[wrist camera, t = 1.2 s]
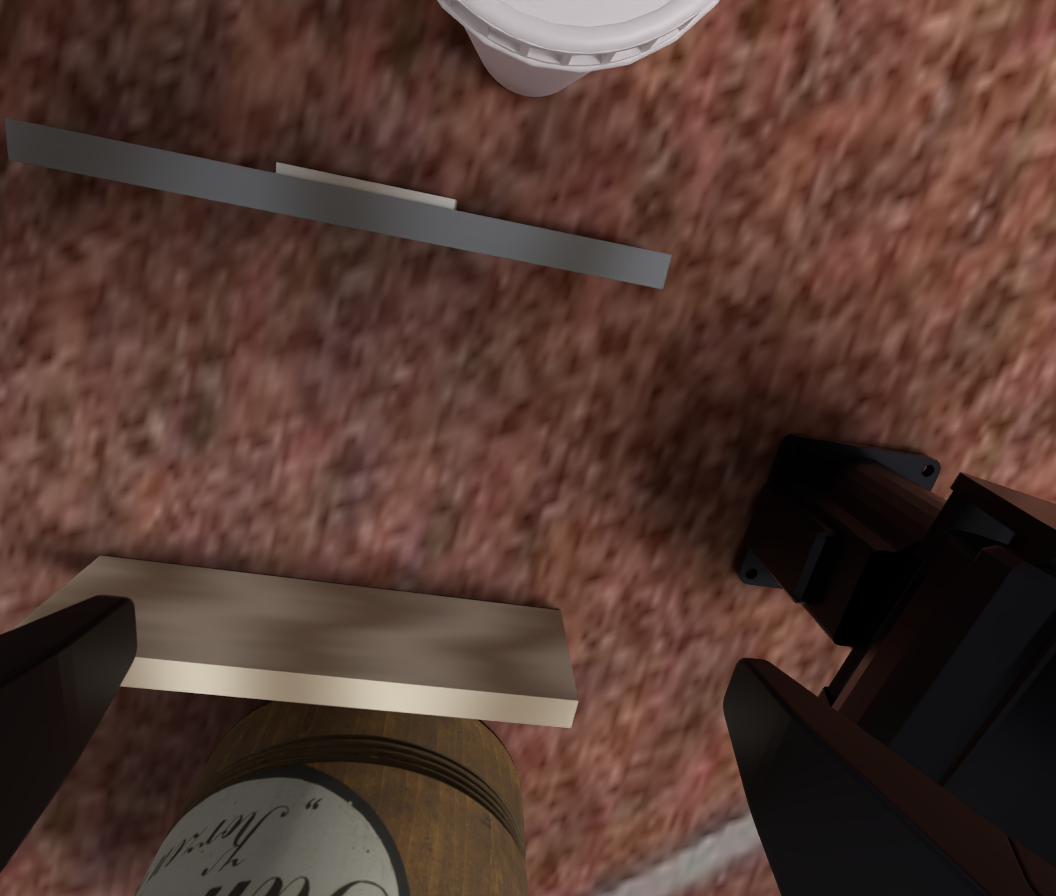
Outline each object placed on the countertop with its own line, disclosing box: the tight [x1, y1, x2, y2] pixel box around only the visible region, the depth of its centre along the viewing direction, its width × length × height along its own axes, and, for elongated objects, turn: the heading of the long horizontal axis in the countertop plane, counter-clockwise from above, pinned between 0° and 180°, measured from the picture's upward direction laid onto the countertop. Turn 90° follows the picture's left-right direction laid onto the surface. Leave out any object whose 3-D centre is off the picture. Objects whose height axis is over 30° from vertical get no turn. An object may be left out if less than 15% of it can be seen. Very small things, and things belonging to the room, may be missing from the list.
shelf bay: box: [4, 117, 672, 728], centre depth 18 cm, size 18×16×5 cm
